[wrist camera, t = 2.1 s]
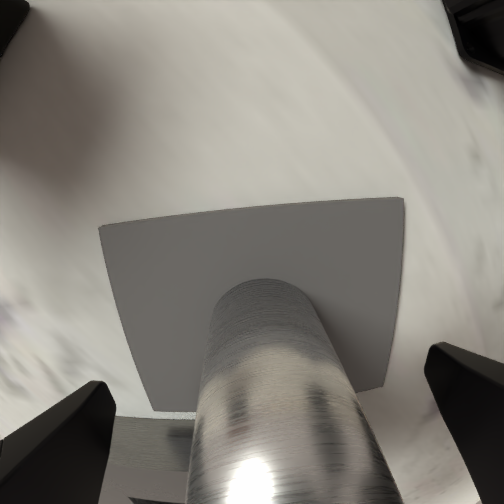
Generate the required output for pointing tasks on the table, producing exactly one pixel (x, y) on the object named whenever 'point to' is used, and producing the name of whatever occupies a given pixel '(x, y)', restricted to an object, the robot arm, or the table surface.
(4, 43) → the battery
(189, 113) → the table surface
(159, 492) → the block
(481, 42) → the robot arm
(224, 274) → the mat
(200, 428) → the silver copper cylinder
